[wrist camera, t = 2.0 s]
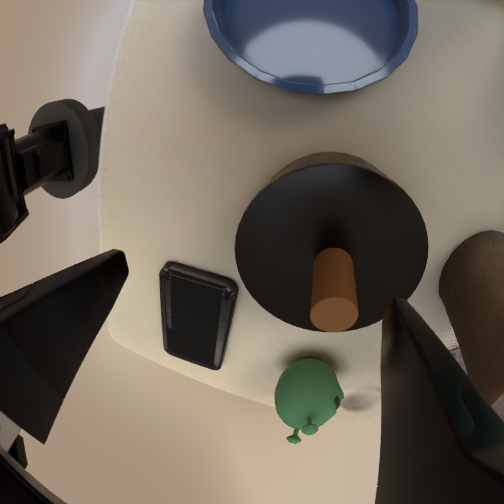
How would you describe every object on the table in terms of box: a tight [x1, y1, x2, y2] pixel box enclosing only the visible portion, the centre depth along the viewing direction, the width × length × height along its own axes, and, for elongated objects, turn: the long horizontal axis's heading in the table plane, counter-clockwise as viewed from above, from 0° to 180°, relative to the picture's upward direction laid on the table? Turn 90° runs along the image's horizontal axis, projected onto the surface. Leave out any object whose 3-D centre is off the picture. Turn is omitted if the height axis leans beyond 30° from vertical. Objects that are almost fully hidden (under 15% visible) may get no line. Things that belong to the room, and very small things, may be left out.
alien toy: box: [275, 358, 344, 444], centre depth 27 cm, size 7×8×10 cm
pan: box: [203, 0, 418, 95], centre depth 12 cm, size 13×13×3 cm
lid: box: [235, 162, 428, 332], centre depth 15 cm, size 12×12×6 cm
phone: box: [159, 262, 238, 370], centre depth 30 cm, size 8×1×15 cm
